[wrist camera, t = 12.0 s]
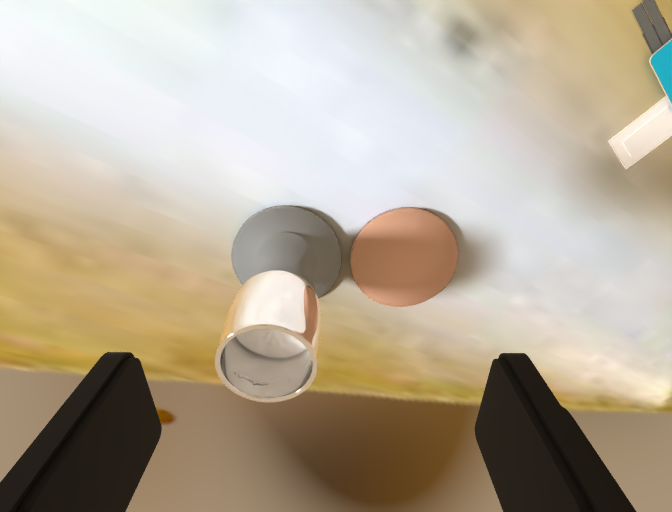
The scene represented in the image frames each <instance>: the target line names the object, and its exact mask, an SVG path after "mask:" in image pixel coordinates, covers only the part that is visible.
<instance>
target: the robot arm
mask: <svg viewBox="0 0 672 512" xmlns="http://www.w3.org/2000/svg"><path fill="white" fill-rule="evenodd" d="M160 435H161V423H160V420H159V417H158V414H157V411H156V408H155V405H154V402H153V399H152V396H151V393H150V389H149V386H148V383H147V380H146V377H145V374H144V371H143V368H142V365H141V362H140V360H139V359H138V358H135V357H134V355H133V354H132V353H130V352H107V353H105V354H104V355H103V356H102V357H101V358H100V359H99V360H98V362H97V363H96V364H95V365H94V367H93V368H92V369H91V370H90V372H89V373H88V374H87V375H86V377H85V378H84V379H83V380H82V382H81V383H80V384H79V385H78V387H77V388H76V389H75V390H74V392H73V393H72V394H71V395H70V397H69V398H68V399H67V400H66V402H65V403H64V404H63V405H62V406H61V408H60V409H59V410H58V411H57V413H56V414H55V415H54V416H53V418H52V419H51V420H50V421H49V423H48V424H47V425H46V426H45V428H44V429H43V430H42V431H41V433H40V434H39V435H38V436H37V438H36V439H35V440H34V441H33V443H32V444H31V445H30V446H29V448H28V449H27V450H26V451H25V453H24V454H23V455H22V456H21V458H20V459H19V460H18V461H17V462H16V464H15V465H14V466H13V467H12V469H11V470H10V471H9V472H8V474H7V475H6V476H5V477H4V479H3V480H2V481H1V482H0V512H125V511H126V509H127V507H128V505H129V502H130V500H131V498H132V496H133V494H134V492H135V490H136V488H137V486H138V483H139V482H140V479H141V477H142V475H143V473H144V471H145V469H146V467H147V465H148V462H149V460H150V458H151V456H152V454H153V452H154V450H155V448H156V445H157V443H158V441H159V439H160ZM475 435H476V439H477V443H478V445H479V448H480V451H481V453H482V456H483V459H484V461H485V464H486V467H487V469H488V472H489V475H490V477H491V480H492V483H493V485H494V488H495V491H496V493H497V496H498V498H499V501H500V504H501V507H502V509H503V512H636V511H635V509H634V508H633V506H632V505H631V503H630V502H629V500H628V499H627V498H626V496H625V494H624V493H623V491H622V490H621V488H620V487H619V485H618V484H617V482H616V481H615V479H614V478H613V476H612V475H611V473H610V472H609V470H608V469H607V467H606V466H605V464H604V463H603V462H602V460H601V458H600V457H599V455H598V454H597V452H596V451H595V450H594V448H593V447H592V445H591V444H590V442H589V441H588V439H587V438H586V436H585V435H584V433H583V432H582V430H581V429H580V427H579V426H578V424H577V423H576V421H575V420H574V418H573V417H572V415H571V414H570V413H569V412H568V411H567V410H566V409H565V408H563V407H562V406H561V405H560V404H559V402H558V401H557V399H556V398H555V396H554V395H553V393H552V392H551V390H550V389H549V387H548V386H547V384H546V383H545V381H544V380H543V378H542V376H541V375H540V373H539V372H538V370H537V369H536V367H535V366H534V364H533V363H532V361H531V360H530V358H529V357H528V356H527V355H526V354H524V353H502V354H500V356H499V358H498V359H494V360H493V362H492V365H491V369H490V373H489V376H488V380H487V384H486V387H485V391H484V395H483V398H482V402H481V406H480V410H479V413H478V417H477V421H476V425H475Z"/></svg>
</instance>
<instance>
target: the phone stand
mask: <svg viewBox="0 0 672 512" xmlns="http://www.w3.org/2000/svg"><path fill="white" fill-rule="evenodd" d="M643 4H644V6H645V8H646V10H647V12H648V14H649V16H650V18H651V21H652V23H653V26H652V24H651V22H650V20H649V18H648V16H647V14H646V12H645V10H644V8H643V6H642V4H641V3H640V4H639V5H638V6H637V7H636V8H635V9H634V10H632V11H633V13H634V15H635V17H636V19H637V21H638V23H639V25H640V27H641V29H642V31H643V36H644V38H645V40H646V42H647V44H648V46H649V48H650V50H651V52H652V54H653V55H652V56H651V57H650V60H649V63H650V65H651V67H652V69H653V71H654V73H655V75H656V77H657V79H658V81H659V83H660V85H661V87H662V89H663V91H664V93H665V95H666V96H665V97H664V98H663V99H661V100H660V101H659V102H657V103H656V104H655V105H654V106H652V107H651V108H650V109H648V110H647V111H646V112H645V113H643V114H642V115H641V116H640V117H638V118H637V119H636V120H634V121H633V122H632V123H631V124H629V125H628V126H627V127H625V128H624V129H623V130H622V131H620V132H619V133H618V134H616V135H615V136H614V137H613V138H611V139H610V140H609V141H608V142H609V143H610V145H611V147H612V148H613V150H614V152H615V153H616V155H617V157H618V158H619V160H620V161H621V163H622V165H623V166H624V168H625V169H628V168H629V167H631V166H632V165H633V164H635V163H636V162H637V161H639V160H640V159H641V158H643V157H644V156H645V155H647V154H648V153H649V152H651V151H652V150H653V149H655V148H656V147H657V146H659V145H660V144H661V143H663V142H664V141H665V140H667V139H668V138H669V137H671V136H672V33H670V30H669V28H668V26H667V24H666V22H665V20H664V18H663V17H662V16H661V13H660V11H659V9H658V7H657V5H656V3H655V1H654V0H644V1H643Z"/></svg>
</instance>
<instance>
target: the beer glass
mask: <svg viewBox="0 0 672 512" xmlns="http://www.w3.org/2000/svg"><path fill="white" fill-rule="evenodd" d="M317 263H318V258H317V254H316V251H315V249H314V247H313V245H312V244H311V243H310V242H309V241H308V240H307V239H306V238H304V237H302V236H301V235H298V234H295V233H290V232H282V233H277V234H274V235H272V236H270V237H268V238H267V239H266V240H265V241H264V242H263V243H262V244H261V245H260V247H259V249H258V252H257V257H256V266H257V267H256V269H255V271H254V272H253V273H252V274H251V276H250V277H249V278H248V279H247V281H246V282H245V283H244V285H243V286H242V287H241V289H240V290H239V292H238V293H237V295H236V297H235V298H234V300H233V303H232V305H231V307H230V309H229V312H228V314H227V317H226V320H225V323H224V327H223V330H222V334H221V338H220V342H219V346H218V348H217V351H216V354H215V368H216V371H217V374H218V376H219V378H220V379H221V381H222V382H223V383H224V384H225V385H226V386H227V387H228V388H229V389H230V390H232V391H233V392H234V393H236V394H238V395H240V396H242V397H244V398H247V399H250V400H254V401H260V402H278V401H284V400H288V399H291V398H293V397H295V396H297V395H299V394H301V393H302V392H304V391H305V390H306V389H307V388H308V387H309V386H310V385H311V384H312V382H313V380H314V379H315V376H316V373H317V369H318V356H319V349H320V341H321V310H320V305H319V300H318V296H317V293H316V289H315V286H314V283H313V276H314V274H315V272H316V269H317Z"/></svg>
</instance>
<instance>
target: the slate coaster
mask: <svg viewBox="0 0 672 512" xmlns="http://www.w3.org/2000/svg"><path fill="white" fill-rule="evenodd" d="M282 232H290V233H295V234H298V235H301V236H302V237H304V238H306V239H307V240H308V241H309V242H310V243H311V244H312V245H313V247H314V249H315V251H316V254H317V258H318V263H317V269H316V272H315V274H314V276H313V283H314V286H315V289H316V293H317V296H318V298H320V297H321V296H323V295H324V294H325V293H326V292H327V291H328V290H329V289H330V288H331V287H332V286H333V284H334V283H335V281H336V279H337V277H338V275H339V271H340V267H341V251H340V245H339V242H338V239H337V237H336V235H335V233H334V231H333V230H332V228H331V227H330V226H329V225H328V224H327V223H326V222H325V221H324V220H323V219H322V218H321V217H319V216H318V215H316V214H315V213H313V212H311V211H309V210H306V209H303V208H300V207H295V206H275V207H270V208H267V209H264V210H262V211H260V212H257V213H256V214H254V215H253V216H251V217H250V218H249V219H248V220H247V221H246V222H245V223H244V224H243V225H242V227H241V228H240V230H239V232H238V234H237V235H236V238H235V240H234V243H233V247H232V264H233V268H234V271H235V274H236V276H237V278H238V279H239V281H240V282H241V284H242V285H244V283H245V282H246V281H247V279H248V278H249V277H250V276H251V274H252V273H253V272H254V271H255V269H256V267H257V266H256V257H257V252H258V249H259V247H260V245H261V244H262V243H263V242H264V241H265V240H266V239H267V238H268V237H270V236H272V235H274V234H277V233H282Z"/></svg>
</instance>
